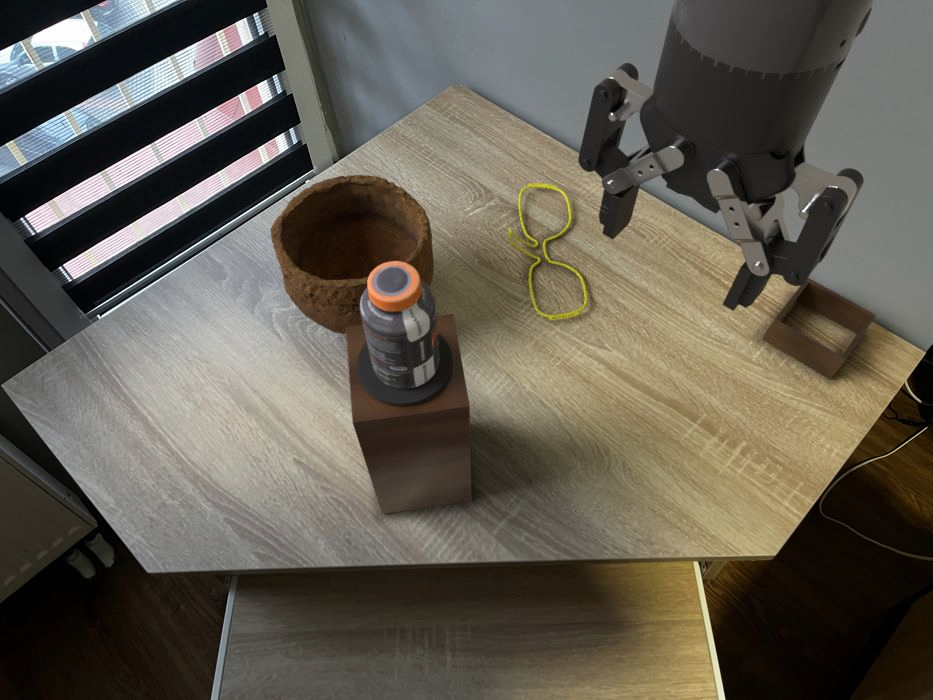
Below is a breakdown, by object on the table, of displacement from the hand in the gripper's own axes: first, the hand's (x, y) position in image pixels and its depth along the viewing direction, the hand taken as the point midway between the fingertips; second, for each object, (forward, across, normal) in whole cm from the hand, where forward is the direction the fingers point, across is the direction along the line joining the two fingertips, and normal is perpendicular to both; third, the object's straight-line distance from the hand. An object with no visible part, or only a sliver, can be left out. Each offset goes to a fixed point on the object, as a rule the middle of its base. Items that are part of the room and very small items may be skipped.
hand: (673, 263), depth 43 cm
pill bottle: (+19, -17, -8) cm, 27 cm away
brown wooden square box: (+41, +8, +37) cm, 56 cm away
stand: (+41, -17, -9) cm, 45 cm away
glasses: (+41, -26, +26) cm, 56 cm away
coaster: (+19, -17, -9) cm, 27 cm away
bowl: (+41, -39, +4) cm, 57 cm away
